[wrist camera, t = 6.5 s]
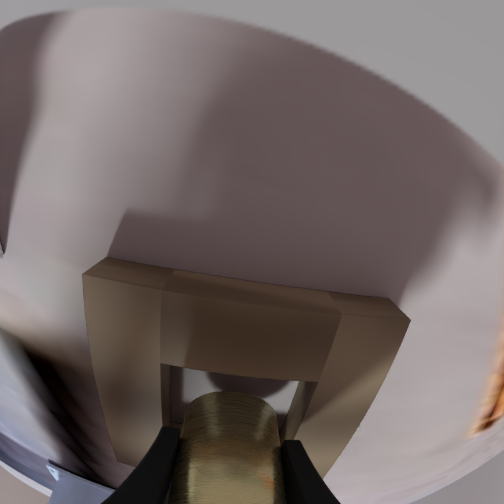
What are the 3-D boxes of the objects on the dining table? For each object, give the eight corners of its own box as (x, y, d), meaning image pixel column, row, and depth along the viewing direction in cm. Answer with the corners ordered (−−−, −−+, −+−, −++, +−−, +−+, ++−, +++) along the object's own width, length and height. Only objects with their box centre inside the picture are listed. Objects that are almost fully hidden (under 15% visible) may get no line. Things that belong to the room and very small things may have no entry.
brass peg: (267, 447, 12) (277, 572, 5) (185, 439, 11) (165, 564, 5) (285, 395, 10) (311, 556, 4) (185, 384, 10) (150, 548, 4)
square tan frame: (313, 460, 15) (318, 483, 13) (125, 438, 14) (117, 461, 12) (389, 298, 11) (410, 320, 9) (105, 257, 11) (82, 274, 9)
